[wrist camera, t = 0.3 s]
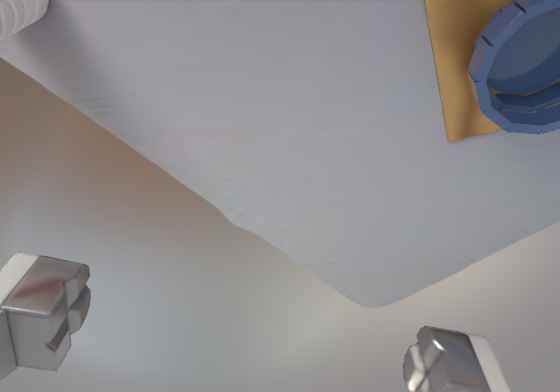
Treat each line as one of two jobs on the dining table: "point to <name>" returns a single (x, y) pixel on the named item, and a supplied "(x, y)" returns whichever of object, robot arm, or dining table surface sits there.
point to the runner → (460, 61)
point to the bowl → (519, 66)
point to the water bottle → (19, 15)
